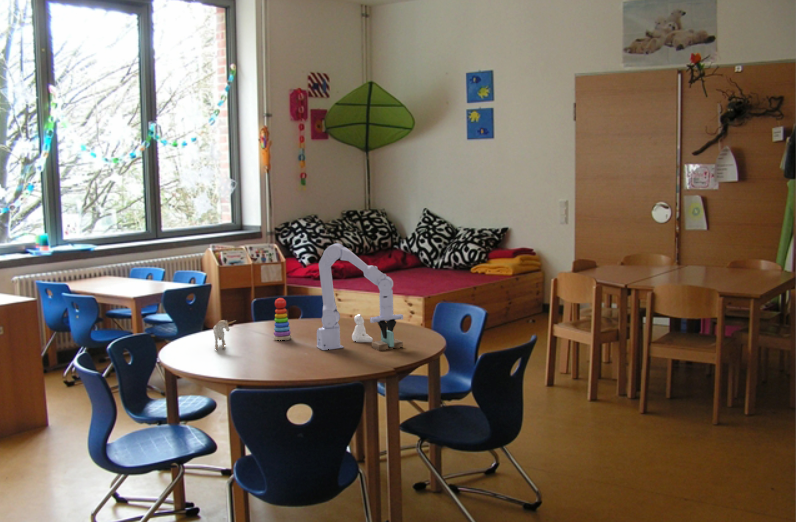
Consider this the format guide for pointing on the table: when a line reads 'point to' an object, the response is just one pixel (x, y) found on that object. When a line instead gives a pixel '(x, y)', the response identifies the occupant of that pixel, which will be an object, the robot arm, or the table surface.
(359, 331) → the sitting furry creature
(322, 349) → the robot arm
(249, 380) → the table surface
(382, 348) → the slot block
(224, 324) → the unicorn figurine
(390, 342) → the teal rectangular block
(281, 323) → the stacking toy
